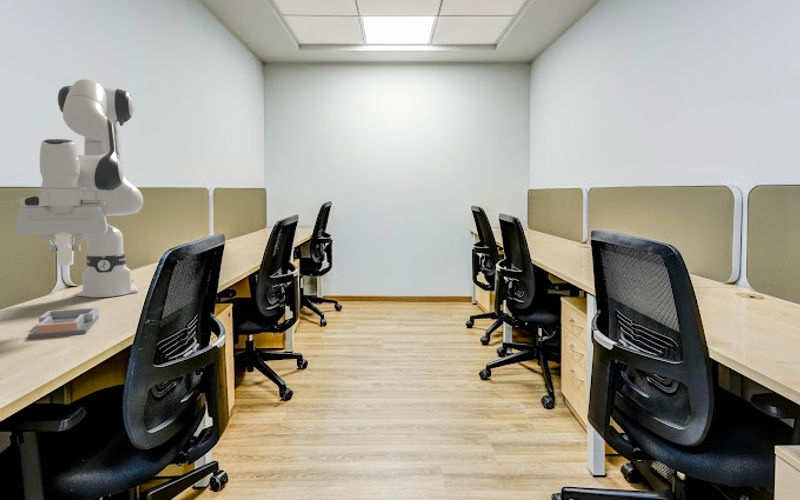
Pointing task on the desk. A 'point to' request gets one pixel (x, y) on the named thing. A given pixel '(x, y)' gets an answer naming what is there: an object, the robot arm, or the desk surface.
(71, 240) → the milkshake
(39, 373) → the desk surface
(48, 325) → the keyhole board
